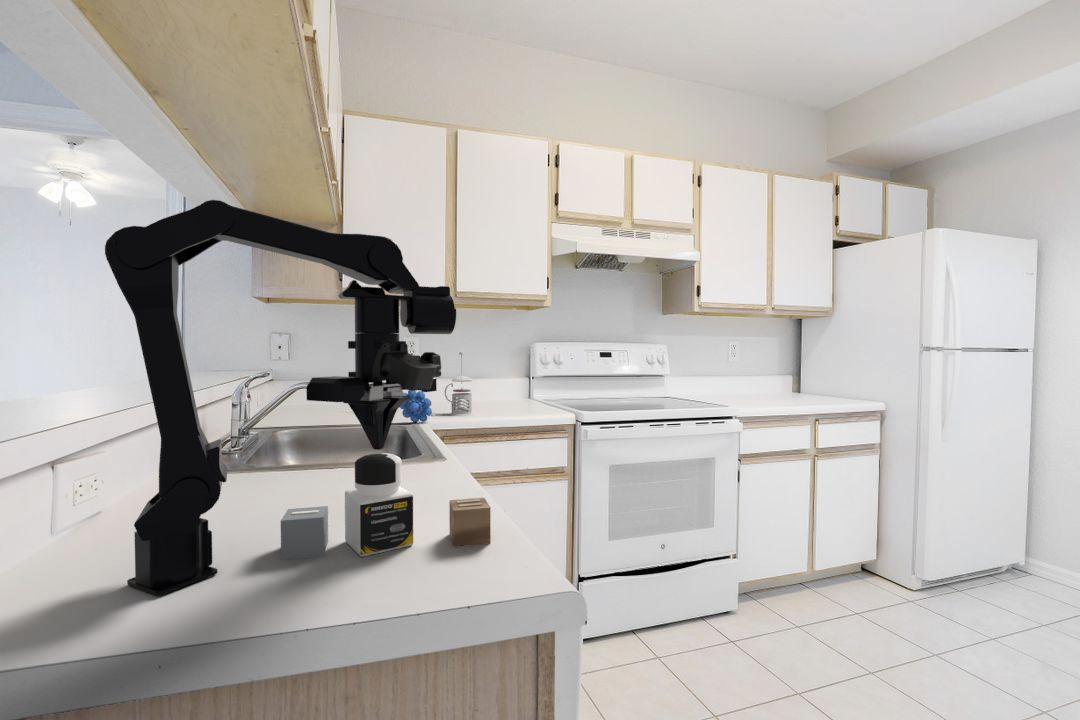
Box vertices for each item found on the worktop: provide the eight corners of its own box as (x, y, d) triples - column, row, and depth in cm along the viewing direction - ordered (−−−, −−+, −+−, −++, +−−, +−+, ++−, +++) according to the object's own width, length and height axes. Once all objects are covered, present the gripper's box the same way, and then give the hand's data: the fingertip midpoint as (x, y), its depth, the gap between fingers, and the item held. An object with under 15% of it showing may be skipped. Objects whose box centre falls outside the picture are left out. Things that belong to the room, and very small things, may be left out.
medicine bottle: (360, 558, 67) (359, 463, 66) (344, 541, 72) (343, 454, 72) (414, 545, 71) (413, 457, 70) (394, 530, 77) (394, 448, 76)
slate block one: (323, 555, 68) (323, 516, 67) (281, 560, 66) (280, 519, 66) (328, 542, 72) (327, 504, 72) (288, 545, 71) (288, 507, 71)
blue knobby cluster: (396, 424, 181) (396, 390, 181) (399, 422, 188) (399, 388, 188) (430, 424, 182) (430, 389, 182) (433, 421, 189) (432, 388, 189)
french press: (472, 416, 204) (472, 351, 204) (442, 416, 204) (442, 351, 204) (476, 412, 214) (475, 351, 213) (447, 412, 214) (447, 351, 214)
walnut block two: (490, 544, 72) (490, 506, 72) (453, 547, 70) (453, 509, 70) (484, 531, 76) (484, 496, 76) (449, 534, 75) (449, 499, 75)
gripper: (372, 330, 59) (373, 469, 59) (466, 334, 76) (467, 442, 76) (302, 332, 64) (304, 460, 64) (405, 335, 81) (406, 436, 81)
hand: (378, 449), depth 71 cm, fingers closed
